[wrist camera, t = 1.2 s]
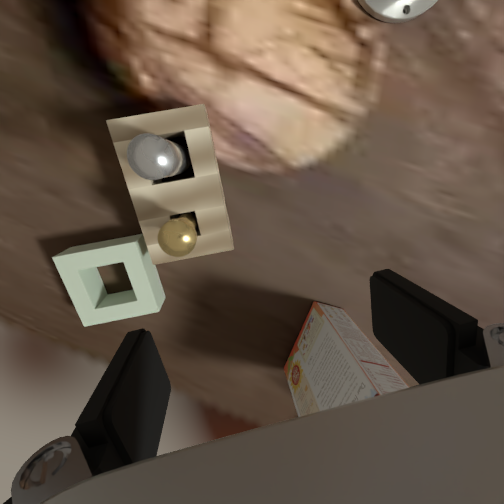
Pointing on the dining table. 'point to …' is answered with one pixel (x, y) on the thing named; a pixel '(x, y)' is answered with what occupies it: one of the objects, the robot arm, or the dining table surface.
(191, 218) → the brass knobbed peg
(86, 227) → the dining table surface
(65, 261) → the block
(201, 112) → the socket block
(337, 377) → the cracker box
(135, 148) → the steel rod
